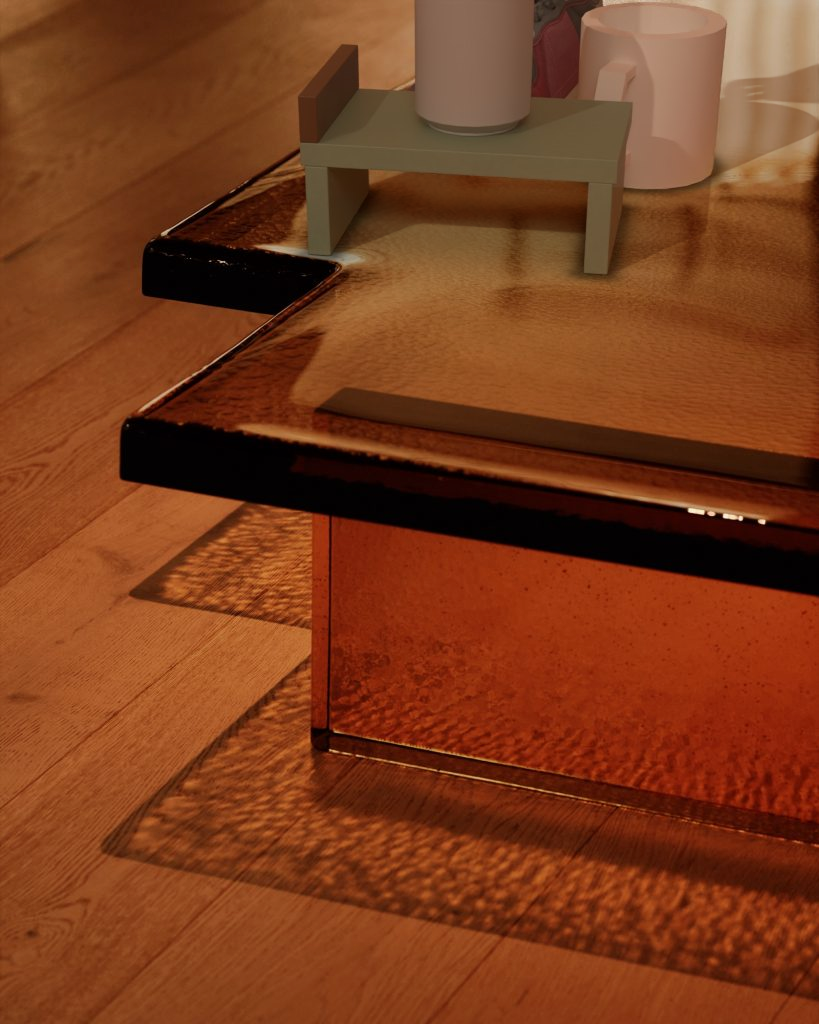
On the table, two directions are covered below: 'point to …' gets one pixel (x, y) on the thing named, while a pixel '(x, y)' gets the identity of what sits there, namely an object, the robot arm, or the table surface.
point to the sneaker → (556, 47)
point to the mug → (658, 85)
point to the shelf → (452, 151)
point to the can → (473, 64)
